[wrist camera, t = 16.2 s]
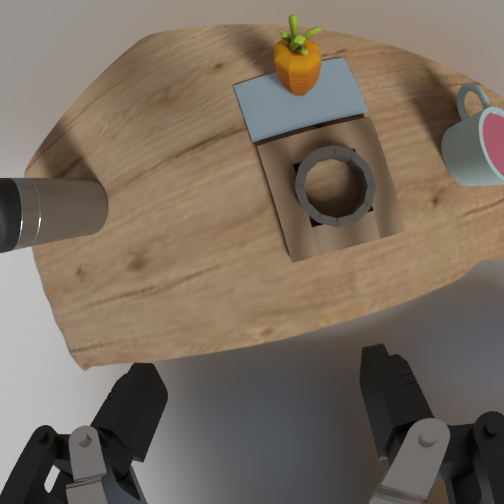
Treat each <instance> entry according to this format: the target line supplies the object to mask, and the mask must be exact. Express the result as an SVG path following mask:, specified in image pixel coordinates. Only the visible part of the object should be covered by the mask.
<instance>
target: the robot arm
mask: <svg viewBox="0 0 504 504" xmlns="http://www.w3.org/2000/svg"><path fill="white" fill-rule="evenodd" d="M107 211H108V202H107V196H106V193H105V191H104V189H103V187H102V186H101V185H100V184H99V183H98V182H96V181H93V180H77V179H54V178H0V253H3V252H8V251H12V250H17V249H21V248H26V247H29V246H34V245H39V244H44V243H49V242H54V241H59V240H64V239H69V238H74V237H80V236H85V235H91V234H94V233H96V232H98V231H99V230H100V229H101V228H102V226H103V224H104V222H105V220H106V217H107ZM359 379H360V388H361V392H362V396H363V400H364V403H365V407H366V411H367V414H368V418H369V422H370V426H371V430H372V434H373V438H374V443H375V447H376V451H377V455H378V460H383V459H387V458H388V463H389V469H388V470H387V472H386V474H385V475H384V477H383V479H382V481H381V482H380V484H379V486H378V487H377V489H376V490H375V492H374V494H373V495H372V497H371V498H370V500H369V501H368V503H367V504H427V502H426V498H427V495H428V493H429V491H430V489H431V487H432V484H433V482H434V481H440V480H444V481H445V485H446V490H447V495H448V500H449V504H504V416H503V415H502V414H501V413H498V412H494V411H493V412H492V411H490V412H486V413H484V414H483V415H481V416H480V417H479V418H478V419H477V421H476V422H475V423H473V424H465V425H457V426H450V425H446V424H445V423H444V422H442V421H440V420H438V419H435V417H434V416H433V414H432V412H431V410H430V408H429V406H428V404H427V401H426V399H425V397H424V395H423V393H422V390H421V388H420V386H419V384H418V383H417V380H416V378H415V376H414V375H413V372H412V370H411V368H410V366H409V364H408V362H407V361H406V360H404V359H403V358H402V357H401V356H400V355H398V354H395V355H391V356H389V354H388V352H387V350H386V348H385V346H384V345H383V344H382V343H381V344H377V345H372V346H367V347H363V348H362V355H361V366H360V377H359ZM167 400H168V393H167V389H166V387H165V385H164V383H163V381H162V379H161V377H160V375H159V373H158V371H157V370H156V368H155V366H154V365H153V364H152V363H134V364H133V365H132V366H131V368H130V370H129V371H128V373H127V374H124V375H123V376H122V377H121V378H120V379H119V380H117V381H116V383H115V385H114V386H113V388H112V389H111V392H110V393H109V394H108V396H107V399H105V401H104V403H103V405H102V406H101V408H100V410H99V411H98V413H97V415H96V416H95V418H94V420H93V422H92V423H91V425H90V426H81V427H79V428H77V429H75V430H74V431H73V432H72V434H58V433H57V432H56V431H55V430H54V429H53V428H52V427H51V426H48V425H43V426H41V427H39V428H37V429H36V430H35V431H34V433H33V434H32V436H31V438H30V440H29V441H28V443H27V445H26V446H25V448H24V450H23V452H22V453H21V455H20V457H19V459H18V461H17V463H16V465H15V467H14V468H13V470H12V472H11V474H10V476H9V478H8V480H7V482H6V484H5V486H4V489H3V490H2V493H1V495H0V504H148V503H147V501H146V499H145V497H144V495H143V492H142V490H141V487H140V485H139V482H138V480H137V477H136V475H135V472H134V469H133V467H132V466H131V463H132V460H134V461H139V462H144V459H145V457H146V454H147V451H148V448H149V446H150V444H151V441H152V438H153V436H154V433H155V431H156V428H157V426H158V423H159V420H160V418H161V416H162V413H163V411H164V408H165V406H166V403H167ZM53 465H54V466H55V467H57V468H58V469H59V470H60V472H59V474H58V477H57V479H56V481H55V484H54V486H53V488H52V490H51V492H50V493H48V492H47V491H46V490H45V487H44V483H45V481H46V478H47V476H48V474H49V472H50V470H51V468H52V466H53Z"/></svg>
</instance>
